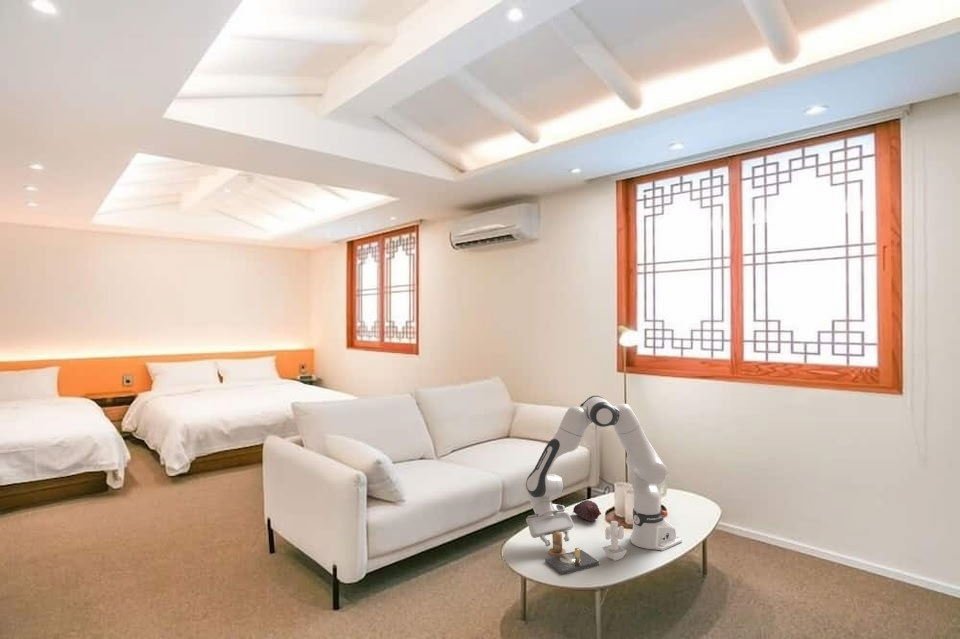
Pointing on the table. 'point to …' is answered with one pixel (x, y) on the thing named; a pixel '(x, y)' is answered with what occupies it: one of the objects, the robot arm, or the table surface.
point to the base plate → (571, 562)
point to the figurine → (614, 541)
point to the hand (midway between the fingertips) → (558, 543)
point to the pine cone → (587, 510)
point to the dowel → (577, 556)
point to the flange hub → (557, 545)
